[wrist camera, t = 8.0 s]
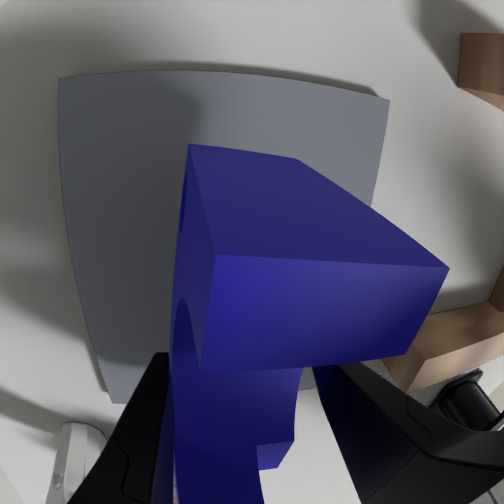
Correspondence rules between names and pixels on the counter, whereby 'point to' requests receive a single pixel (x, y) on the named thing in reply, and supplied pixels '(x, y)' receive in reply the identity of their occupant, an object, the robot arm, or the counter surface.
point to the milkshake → (73, 460)
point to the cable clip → (275, 308)
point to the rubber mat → (180, 182)
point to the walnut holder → (500, 304)
